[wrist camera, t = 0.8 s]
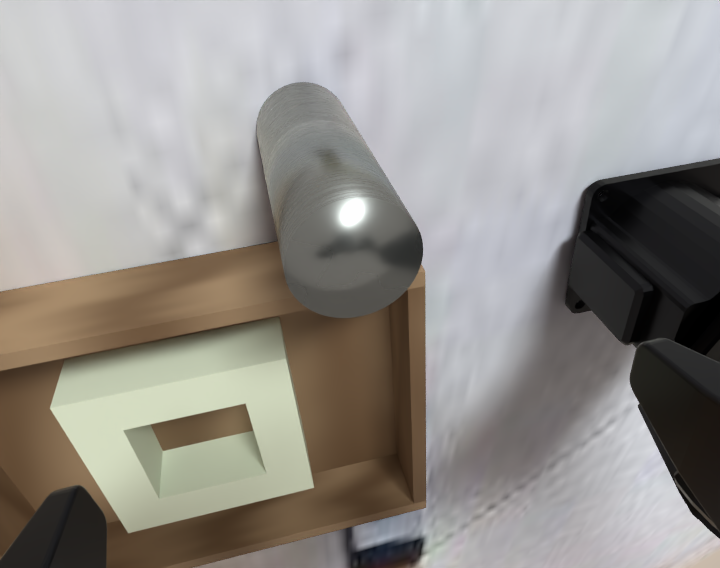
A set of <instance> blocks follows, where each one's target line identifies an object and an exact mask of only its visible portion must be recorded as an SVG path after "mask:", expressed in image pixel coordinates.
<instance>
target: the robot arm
mask: <svg viewBox="0 0 720 568" xmlns="http://www.w3.org/2000/svg"><path fill="white" fill-rule="evenodd" d="M603 190H604V191H603ZM601 191H603V193H602V194H601V195H600V196H598V195H599V193H600V192H601ZM568 284H569V285H568V290H567V296H566V301H565V305H566V306H567V307H568V308H569V310H570V311H571V312H572V313H581V312H586V311H591V310H592V311H593V312H594V313H595V314H596V316H597V317H598V318H599V319H600V320H601V321H602V322H603V323H604V324H605V325H606V327H607V328H608V329H609V330H610V331H611V332H612V333H613V334H614V335H615V337H616V338H617V339H618V340H619V341H620V342H622V343H623V344H624V345H630V344H633V345H634V346H635V347H636V348H637V349H636V353H635V357H634V361H633V365H632V369H631V373H630V384H631V388H632V390H633V392H634V394H635V396H636V398H637V399H638V401H639V405H638V408H639V410H640V412H641V414H642V416H643V418H644V420H645V423H646V425H647V427H648V429H649V431H650V433H651V435H652V437H653V439H654V441H655V443H656V445H657V447H658V449H659V452H660V454H661V456H662V458H663V460H664V462H665V464H666V466H667V468H668V470H669V472H670V474H671V476H672V478H673V481H674V483H675V485H676V487H677V489H678V491H679V493H680V494H681V496H682V498H683V499H684V501H685V503H686V504H687V506H688V508H689V510H690V511H691V513H692V514H693V515H694V516H695V517H696V518H697V519H699V520H700V521H701V522H702V523H703V524H704V525H705V526H706V527H707V528H708V529H709V530H710V531H711V532H712V533H714V534H715V535H716V536H717V537H718V538H720V158H719V159H713V160H708V161H702V162H696V163H691V164H685V165H680V166H674V167H669V168H663V169H658V170H652V171H647V172H641V173H636V174H630V175H625V176H619V177H614V178H608V179H603V180H599V181H596V182H594V183H593V184H592V185H591V186H590V187H589V188H588V190H587V193H586V197H585V203H584V208H583V213H582V218H581V223H580V228H579V234H578V237H577V239H576V244H575V249H574V255H573V260H572V265H571V270H570V275H569V281H568ZM578 301H579V302H578ZM0 568H107V522H106V518H105V515H104V513H103V511H102V510H101V508H100V507H99V506H98V504H97V503H96V502H95V500H94V499H93V498H92V496H91V495H90V494H89V492H88V491H87V490H86V489H85V488H84V487H83V486H81V485H74V486H70V487H66V488H62V489H58V490H55V491H53V492H52V493H50V494H49V495H48V496H47V497H46V499H45V500H44V501H43V503H42V504H41V505H40V507H39V508H38V509H37V511H36V512H35V513H34V515H33V516H32V517H31V519H30V520H29V521H28V523H27V524H26V525H25V527H24V528H23V529H22V531H21V532H20V533H19V535H18V536H17V537H16V539H15V540H14V541H13V543H12V544H11V545H10V547H9V548H8V549H7V551H6V552H5V553H4V555H3V556H2V557H1V559H0Z"/></svg>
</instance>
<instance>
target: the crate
mask: <svg viewBox="0 0 720 568" xmlns="http://www.w3.org/2000/svg"><path fill="white" fill-rule="evenodd" d="M275 317H279V318H280V323H281V328H282V332H283V337H284V342H285V346H286V351H287V356H288V360H289V365H290V370H291V374H292V379H293V384H294V388H295V393H296V398H297V402H298V407H299V412H300V416H301V421H302V426H303V430H304V435H305V440H306V444H307V450H308V456H309V461H310V467H311V472H312V478H313V484H314V488H311V489H307V490H303V491H299V492H295V493H291V494H287V495H283V496H279V497H275V498H271V499H266V500H262V501H258V502H254V503H250V504H246V505H242V506H238V507H234V508H230V509H225V510H221V511H217V512H213V513H209V514H205V515H201V516H197V517H193V518H189V519H184V520H180V521H176V522H172V523H168V524H164V525H160V526H156V527H152V528H148V529H144V530H139V531H135V532H131V533H128V532H127V530H126V529H125V527H124V526H123V524H122V523H121V521H120V519H119V518H118V516H117V515H116V513H115V511H114V510H113V508H112V507H111V505H110V503H109V502H108V500H107V499H106V497H105V495H104V494H103V492H102V491H101V489H100V487H99V486H98V484H97V483H96V481H95V479H94V478H93V476H92V475H91V473H90V472H89V470H88V468H87V467H86V465H85V464H84V462H83V460H82V459H81V457H80V456H79V454H78V452H77V451H76V449H75V448H74V446H73V444H72V443H71V441H70V440H69V438H68V436H67V435H66V433H65V432H64V430H63V428H62V427H61V425H60V424H59V422H58V421H57V419H56V417H55V416H54V414H53V413H52V411H51V409H50V406H51V403H52V400H53V396H54V393H55V390H56V386H57V383H58V380H59V376H60V373H61V370H62V367H63V363H64V360H65V359H70V358H75V357H80V356H85V355H90V354H95V353H100V352H105V351H110V350H115V349H120V348H125V347H130V346H135V345H140V344H145V343H150V342H155V341H160V340H165V339H170V338H175V337H180V336H185V335H190V334H195V333H200V332H205V331H210V330H215V329H220V328H225V327H230V326H235V325H240V324H245V323H250V322H255V321H260V320H265V319H270V318H275ZM150 425H151V427H152V429H153V431H154V433H155V435H156V438H157V440H158V442H159V444H160V446H161V448H162V450H163V451H166V450H170V449H174V448H179V447H183V446H188V445H192V444H196V443H201V442H205V441H210V440H214V439H219V438H223V437H227V436H232V435H236V434H241V433H245V432H249V431H254V430H253V427H252V423H251V420H250V417H249V413H248V410H247V407H246V403H245V404H241V405H236V406H232V407H227V408H223V409H218V410H214V411H209V412H204V413H200V414H195V415H191V416H186V417H182V418H177V419H173V420H168V421H163V422H159V423H154V424H150ZM74 485H81V486H83V487H84V488H85V489H86V490H87V491H88V492H89V494H90V495H91V496H92V498H93V499H94V500H95V502H96V503H97V504H98V506H99V507H100V508H101V510H102V511H103V513H104V515H105V518H106V522H107V568H192V567H196V566H200V565H204V564H208V563H212V562H216V561H220V560H224V559H228V558H231V557H235V556H239V555H243V554H247V553H251V552H255V551H259V550H263V549H267V548H270V547H274V546H278V545H282V544H286V543H290V542H294V541H298V540H302V539H306V538H310V537H313V536H317V535H321V534H325V533H329V532H333V531H337V530H341V529H345V528H349V527H352V526H356V525H360V524H364V523H368V522H372V521H376V520H380V519H384V518H388V517H392V516H395V515H399V514H403V513H407V512H411V511H415V510H419V509H423V508H426V372H425V270H424V269H423V267H422V265H421V266H420V269H419V271H418V274H417V275H416V277H415V279H414V281H413V282H412V284H411V285H410V287H409V288H408V289H407V290H406V291H405V292H404V293H403V294H402V295H401V296H400V297H399V298H398V299H397V300H395V301H394V302H393V303H391V304H390V305H388V306H386V307H385V308H383V309H381V310H379V311H376V312H374V313H371V314H368V315H364V316H360V317H354V318H334V317H328V316H324V315H321V314H318V313H316V312H313V311H311V310H310V309H308V308H306V307H305V306H304V305H302V304H301V303H300V302H299V301H298V300H297V299H296V298H295V297H294V295H293V294H292V293H291V291H290V289H289V287H288V285H287V283H286V279H285V275H284V270H283V265H282V260H281V255H280V250H279V245H278V241H277V242H272V243H266V244H261V245H255V246H250V247H244V248H239V249H233V250H228V251H222V252H217V253H211V254H206V255H200V256H195V257H189V258H184V259H178V260H173V261H167V262H162V263H156V264H151V265H145V266H140V267H134V268H129V269H123V270H118V271H112V272H107V273H101V274H96V275H90V276H85V277H79V278H74V279H68V280H63V281H57V282H52V283H46V284H41V285H35V286H30V287H24V288H19V289H13V290H8V291H2V292H0V559H1V557H2V556H3V555H4V553H5V552H6V551H7V549H8V548H9V547H10V545H11V544H12V543H13V541H14V540H15V539H16V537H17V536H18V535H19V533H20V532H21V531H22V529H23V528H24V527H25V525H26V524H27V523H28V521H29V520H30V519H31V517H32V516H33V515H34V513H35V512H36V511H37V509H38V508H39V507H40V505H41V504H42V503H43V501H44V500H45V499H46V497H47V496H48V495H49V494H50V493H52V492H53V491H55V490H58V489H62V488H66V487H70V486H74Z"/></svg>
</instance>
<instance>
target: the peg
mask: <svg viewBox="0 0 720 568" xmlns="http://www.w3.org/2000/svg"><path fill="white" fill-rule="evenodd" d="M256 132H257V138H258V144H259V149H260V154H261V159H262V164H263V169H264V174H265V179H266V184H267V189H268V194H269V199H270V204H271V209H272V214H273V220H274V225H275V230H276V235H277V240H278V245H279V250H280V255H281V260H282V265H283V270H284V275H285V279H286V283H287V285H288V287H289V289H290V291H291V293H292V294H293V295H294V297H295V298H296V299H297V300H298V301H299V302H300V303H301V304H302V305H304V306H305V307H306V308H308V309H310V310H311V311H313V312H316V313H318V314H321V315H324V316H328V317H334V318H354V317H360V316H364V315H368V314H371V313H374V312H376V311H379V310H381V309H383V308H385V307H386V306H388V305H390V304H391V303H393V302H394V301H395V300H397V299H398V298H399V297H400V296H401V295H402V294H403V293H404V292H405V291H406V290H407V289H408V288H409V287H410V285H411V284H412V282H413V281H414V279H415V277H416V275H417V274H418V271H419V269H420V266H421V262H422V257H423V243H422V238H421V234H420V232H419V229H418V227H417V226H416V224H415V222H414V221H413V219H412V217H411V216H410V214H409V213H408V211H407V209H406V208H405V206H404V204H403V203H402V201H401V200H400V198H399V196H398V195H397V193H396V191H395V190H394V188H393V187H392V185H391V183H390V182H389V180H388V178H387V177H386V175H385V174H384V172H383V170H382V169H381V167H380V165H379V164H378V162H377V161H376V159H375V157H374V156H373V154H372V152H371V151H370V149H369V148H368V146H367V144H366V143H365V141H364V139H363V138H362V136H361V135H360V133H359V131H358V130H357V128H356V126H355V125H354V123H353V122H352V120H351V118H350V117H349V115H348V113H347V112H346V110H345V109H344V107H343V105H342V104H341V102H340V101H339V99H338V98H337V97H336V96H335V95H334V94H333V93H332V92H330V91H329V90H328V89H326V88H324V87H322V86H320V85H317V84H313V83H306V82H300V83H293V84H289V85H286V86H284V87H282V88H280V89H278V90H277V91H275V92H274V93H273V94H272V95H270V96H269V97H268V99H267V100H266V101H265V102H264V104H263V106H262V107H261V110H260V112H259V115H258V118H257V124H256Z"/></svg>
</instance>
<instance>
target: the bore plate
mask: <svg viewBox="0 0 720 568" xmlns="http://www.w3.org/2000/svg"><path fill="white" fill-rule="evenodd" d="M245 403H246V407H247V410H248V413H249V417H250V420H251V423H252V427H253V430H254V431H249V432H245V433H241V434H236V435H232V436H227V437H223V438H219V439H214V440H210V441H205V442H201V443H196V444H192V445H188V446H183V447H179V448H174V449H170V450H166V451H163V450H162V448H161V446H160V444H159V442H158V440H157V438H156V435H155V433H154V431H153V429H152V427H151V425H150V424H154V423H159V422H163V421H168V420H173V419H177V418H182V417H186V416H191V415H195V414H200V413H204V412H209V411H214V410H218V409H223V408H227V407H232V406H236V405H241V404H245ZM50 409H51V411H52V413H53V414H54V416H55V417H56V419H57V421H58V422H59V424H60V425H61V427H62V428H63V430H64V432H65V433H66V435H67V436H68V438H69V440H70V441H71V443H72V444H73V446H74V448H75V449H76V451H77V452H78V454H79V456H80V457H81V459H82V460H83V462H84V464H85V465H86V467H87V468H88V470H89V472H90V473H91V475H92V476H93V478H94V479H95V481H96V483H97V484H98V486H99V487H100V489H101V491H102V492H103V494H104V495H105V497H106V499H107V500H108V502H109V503H110V505H111V507H112V508H113V510H114V511H115V513H116V515H117V516H118V518H119V519H120V521H121V523H122V524H123V526H124V527H125V529H126V530H127V532H128V533H131V532H135V531H139V530H144V529H148V528H152V527H156V526H160V525H164V524H168V523H172V522H176V521H180V520H184V519H189V518H193V517H197V516H201V515H205V514H209V513H213V512H217V511H221V510H225V509H230V508H234V507H238V506H242V505H246V504H250V503H254V502H258V501H262V500H266V499H271V498H275V497H279V496H283V495H287V494H291V493H295V492H299V491H303V490H307V489H311V488H314V484H313V478H312V472H311V467H310V461H309V456H308V450H307V444H306V440H305V435H304V430H303V426H302V421H301V416H300V412H299V407H298V402H297V398H296V393H295V388H294V384H293V379H292V374H291V370H290V365H289V360H288V356H287V351H286V346H285V342H284V337H283V332H282V328H281V323H280V318H279V317H275V318H270V319H265V320H260V321H255V322H250V323H245V324H240V325H235V326H230V327H225V328H220V329H215V330H210V331H205V332H200V333H195V334H190V335H185V336H180V337H175V338H170V339H165V340H160V341H155V342H150V343H145V344H140V345H135V346H130V347H125V348H120V349H115V350H110V351H105V352H100V353H95V354H90V355H85V356H80V357H75V358H70V359H65V360H64V363H63V367H62V370H61V373H60V376H59V380H58V383H57V386H56V390H55V393H54V396H53V400H52V403H51V406H50Z"/></svg>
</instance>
